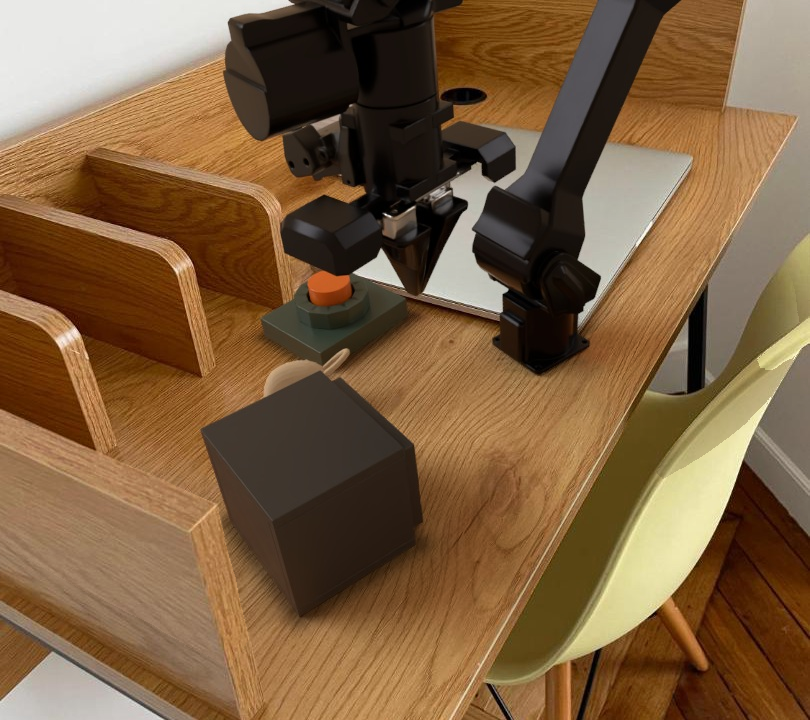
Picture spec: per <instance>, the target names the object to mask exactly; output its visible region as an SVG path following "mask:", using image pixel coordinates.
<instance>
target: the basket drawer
mask: <svg viewBox="0 0 810 720" xmlns="http://www.w3.org/2000/svg"><path fill="white" fill-rule="evenodd" d="M332 381H333V382H334V383H335V384H336V385H337V386H338V387H339V388H340V389H341V390H342V391H343V392H344V393H345V394H346V395H348V396H349V397H350V398H351V399H352V400H353V401H354V402H355V403H356V404H357V405H358V406H359V407H360V408H361V409H363V410H364V411H365V412H366V413H367V414H368V415H369V416H370V417H371V418H372V419H373V420H374V421H375V422H377V423H378V424H379V425H380V426H381V427H382V428H383V429H384V430H385V431H386V432H387V433H388V434H389V435H390V436H392V437H393V438H394V439H395V440H396V441H397V442H398V443H399V444H400V445H401V446H402V447H403V448H404V455H405V463H406V471H407V479H408V486H409V494H410V502H411V510H412V518H413V526H414V529H415V528H417V527H418V526H420V525H422V524H423V523H424V517H423V516H424V515H423V508H422V499H421V490H420V482H419V473H418V466H417V465H418V464H417V457H416V456H417V455H416V447H415V443H413V442H412V440H410V439H409V438H408V437H407V436H406V435H405V434H404V433H403V432H401V430H399V429H398V428H397V426H395V425H394V424H392V423H391V422H390V421H389V419H388V418H386V417H385V416H384V415H383V414H382V413H380V411H378V409H376V407H374V406H373V405H372V404H371V403H370V402H369V401H367V400H366V398H364V397H363V396H362V395H361V394H360V393H359V392H358V391H357V390H355V388H353V387H352V386H351V384H349V383H348V382H347V381H346V380H344V379H343V378H342V377H341V376H339V377H336V378H335V379H333V380H332Z"/></svg>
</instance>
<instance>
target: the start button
mask: <svg viewBox="0 0 810 720" xmlns="http://www.w3.org/2000/svg"><path fill="white" fill-rule="evenodd" d="M307 281H308V289H309V295H310V300H311V302H312V303H313V304H314V305H316V306H326V307H330V306H334V305H338V304H342V303H344V302H345V301H347V300H349V299H350V298H351V296H352V289H351V283H350V277H349V275H345V276H334V275H332V274H330V273H328V272H325V271H323V270H321V271H318V272H316V273H314V274H313V275H311V276H310V277H309V278H308V280H307Z"/></svg>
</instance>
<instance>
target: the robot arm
mask: <svg viewBox="0 0 810 720" xmlns="http://www.w3.org/2000/svg"><path fill="white" fill-rule="evenodd" d="M288 1H289V3H291V4H290V5H287V6H283V7H280V8H276V9H272V10H269V11H264V12H259V13H258V12H255V13H254V12H249V13H243V14H239V15H236V16H233V17H230V18H229V19H228V21H227V27H228V31H229V36H230V41H229V42H228V43H227V44H226V48H225V51H224V52H225V53H224V65H225V69H223V70H222V75H223V76H222V77H223V81H224V85H225V88H226V91H227V94H228V97H229V100H230V103H231V105H232V108H233V110H234V112H235V114H236V116H237V118H238V120H239V122H240V123H241V125H242V126H243V128H244V129H245V130H246V132H247V133H248V134H249V135H250V137H252V138H253V139H254V140H256V141H258V142H265V141H266V140H270V139H273V138H276V137H279V136H282V145H283V154H284V158H285V162H286V164H287V166H288V169H289V171H290V173H291V174H292V175H293V176H294V177H295V178H297V179H299V178H300V179H301V178H305V177H311V176H312V179H313V181H314V182H320V181H322V180H323V179H324V178H328V177H334V176H339V175H341V176H340V177H341V182H342V183H341V184H343V185H345V186H348V187H351V188H357V187H358V186H360V187H363V189H364V193H363V194H362V195H360V196H358V197H357V198H355V199H354V200H352V201H350V202H346V201H344V200H341V199H338V198H335V197H334V196H333V197H332V196H330V195H327V194H321V195H320V196H318V197H317V198H315V199H312V200H311V201H309V202H307V203H305V204H304V205H302V206H300V207H298V208H296V209H295V210H292V211H291V212H289V213H287V214H286V215H285V216H284V218H283V219H282V220H281V222H280V223H279V234H280V239H281V243H282V248H283V252H284V254H285V255H287V256H290V257H292V258H294V259H296V260H299V261H300V262H303V263H305V264H308V265H310V266H312V267H314V268H317V269H319V270H321V271H325V272H328V273H330V274H332V275H334V276H345V275H350V274H351V273H355V272H356V271H359V269H361V268H363V267H364V266H366V265H367V264H369V263H371V262H372V261H374V260H375V259H377V258H378V256H379V254H380V252H381V250H382V252H383V253H384V255H385V256H386V258H387V260H388V261H389V263H390V265H391V266H392V268H393V271H394V272H395V274H396V276H397V278H398V279H399V281H400V283H401V285H402V286H403V288H404V290H405V292H406V293H407V294H409V295H411V296H414V297H418V296H420V295H421V294H422V293H424V292H425V290H426V288H427V287H428V286H427V285H428V284H429V281H430V279H431V277H432V275H433V272H434V270H435V269H436V266H437V264H438V262H439V259H440V257H441V255H442V254H443V251H444V249H445V247H446V245H447V243H448V240H449V239H450V237H451V235H452V233H453V232H454V229H455V227H456V225H457V223H458V222H459V220H460V218H461V216H462V215H463V213H465V212H467V210H468V208H469V202H468V200H467V199H466V198H465V199H464V198H461V197H460V196H459V197H458V196H455V195H454V188H453V187H451V182H453V181H454V180H456V179H458V178H459V177H461V176H463V175H464V174H466V173H467V172H469V171H471V170H472V167H473V166H474V165H475V164H480V169H481V176H482V177H483V178H484V179H485V180H487V181H488V182H491V183H494V184H495V183H497V182H498V181H500V180H502V179H504V178H506V177H507V176H508V175H510V174H511V173H513V172H515V171H516V170H517V146H516V145H515V143H514V142H513V140H512V139H511V138H510V136H509V135H508V134H507V132H506V131H502V130H498V129H495V128H490V127H487V126H484V125H483V126H482V125H479V124H475V123H472V122H468V121H464V120H458V121H456V122H454V123H452V124H450V125H448V126H447V127H445V128H443V129H442V125H443V124H445V123H447V122H449V121H451V120H452V119H454V118H455V110H454V102H452V101H447V100H443V99H440V85H439V74H438V73H439V72H438V58H437V43H436V31H435V29H436V28H435V14H438V13H441V12H445V11H448V10H451V9H454V8H457V7H460V6H461V5H462V4H463V2H464V0H288ZM680 2H682V0H597V1H596V3H595V6H594V7H593V10H592V12H591V14H590V16H589V19H588V22H587V25H586V26H585V29H584V32H583V34H582V37H581V39H580V40H579V43H578V46H577V49H576V50H575V53H574V55H573V57H572V60H571V63H570V65H569V67H568V70H567V72H566V75H565V77H564V79H563V82H562V84H561V87H560V89H559V91H558V94H557V96H556V98H555V100H554V103H553V105H552V108H551V111H550V113H549V115H548V118H547V120H546V122H545V124H544V127H543V129H542V131H541V134H540V136H539V139H538V141H537V144H536V146H535V149H534V151H533V153H532V155H531V159H530V161H529V163H528V165H527V167H526V169H525V171H524V173H523V174H522V175H521V176H520V177H518V178H517V179H516V180H515V181H514V182H513V183H511V184H510V185H509V186H508V187H506V188H505V189H504V188H502V187H500V186H498V185H493V186H492V187H491V188H490V189H489V191H488V192H487V194H486V196H485V197H486V198H485V202H484V204H483V208H482V211H481V213H480V215H479V217H478V219H477V221H476V222H475V223H474V225H473V226H472V227H471V231H472V232H473V233H475V234H474V238H473V242H472V246H471V252H472V253H471V254H473V256H474V258H475V259H474V260H475V263H476V265H477V266H478V267H479V268H480V269H481V270H482V271H484V272H485V273H487V275H488V277H489V279H490V280H491V281H493V282H497V283H498V284H500V285H501V286H502V287H504V288H506V289H507V291H505V292H503V293H502V294H501V296H502V297H501V298H502V302H501V303H502V311H501V312H500V313H499V333H498V334H497V335H496V336H494V337H492V339H491V343H492V345H493V346H494V347H495V348H497V349H498V350H500V351H501V352H503V353H504V354H506V355H507V356H508V357H510V358H511V359H513V360H514V361H516V363H518V364H519V365H521V366H523V367H524V368H526V369H527V370H528V371H530V372H531V373H533V374H534V375H538V376H540V375H543V374H545V373H547V372H548V371H550V370H552V369H554V368H556V367H557V366H559V365H561V364H563V363H565V362H566V361H568V360H570V359H571V358H573V357H575V356H577V355H578V354H580V353H582V352H584V351H586V350H588V349H589V348H590V346H591V341H590V340H589V339H588V338H586V337H585V336H584V335H582V334H580V333H579V332H578V331H579V330H578V329H579V315H580V314H582V313H583V312H584V310H585V306H586V304H588V303H590V302H592V301H593V300H595V299H596V297H597V292H598V290H599V286H600V283H601V280H602V276H601V274H599V273H597V272H596V271H595V270H593V269H592V268H590V267H589V266H588V265H586V264H585V263H583V262H581V261H580V260H579V257H580V254H581V251H582V248H583V245H584V242H585V239H586V224H585V214H584V201H583V198H584V195H585V193H586V189H587V188H588V185H589V182H591V181H590V180H591V178H592V176H593V174H594V171H595V169H596V167H597V164H598V163H599V160H600V158H601V156H602V153H603V151H604V149H605V146H606V144H607V142H608V140H609V138H610V136H611V133H612V131H613V130H614V127H615V124H616V122H617V120H618V117H619V115H620V113H621V112H622V108H623V107H624V104H625V102H626V99H627V97H628V95H629V93H630V91H631V88H632V86H633V84H634V82H635V80H636V77H637V76H638V74H639V71H640V68H641V66H642V64H643V62H644V60H645V58H646V56H647V53H648V51H649V49H650V46H651V44H652V41H653V39H654V37H655V34H656V33H657V30H658V29H659V25H660V24H661V21H662V20H663V18H664V17H665V15H666V14H667V13H668V12H670V11H671V10H672V9H673V8H674V7H675V6H677V5H678V4H679V3H680ZM351 104H352V106H350V105H351ZM349 106H350V107H349ZM339 114H340V116H339V121H336V122H334V123H331V124H329V125H327V126H325V127H323V128H321V129H319V130H316V129H315V128H314V126H313V125H310V124H313V123H316V122H319V121H322V120H325V119H328V118H331V117H334V116H337V115H339Z"/></svg>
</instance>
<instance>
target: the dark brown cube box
mask: <svg viewBox="0 0 810 720" xmlns="http://www.w3.org/2000/svg"><path fill="white" fill-rule="evenodd" d="M199 431H200V433H201V437H202V440H203V443H204V446H205V449H206V452H207V455H208V458H209V461H210V464H211V467H212V470H213V473H214V476H215V480H216V482H217V486H218V488H219V492H220V494H221V497H222V500H223V503H224V506H225V509H226V513H227V515H228V518H229V521H230V523H231V525H232V526H233V528H234V529H235V530H236V532H237V533H238V534H239V536H240V537H241V539H242V540H243V541H244V543H245V544H246V545H247V547H248V548H249V550H250V552H252V554H253V555H254V556H255V558H256V560H257V561H258V562H259V563H260V565H261V566H262V567H263V569H264V571H265V572H266V573H267V574H268V576H269V577H270V578H271V580H272V581H273V583H274V584H275V586H277V588H278V590H279V591H280V593H281V594H282V595H283V596H284V598H285V600H287V602H288V603H289V605H290V606H291V607H292V609H293V610H294V611H295V613H296V614H297V616H298V617H302V616H304V615H305V614H307V613H309V612H310V611H312V610H313V609H315V608H317V607H318V606H320V605H321V604H324V602H327V600H329V599H331V598H332V597H334V596H335V595H337V594H339V593H340V592H342V591H343V590H345V589H347V588H348V587H350V586H352V585H353V584H355V583H357V582H358V581H359V580H361V579H363V578H365V577H366V576H367V575H369V574H370V573H372V572H374V571H376V570H377V569H379V568H381V567H382V566H384V565H385V564H387V563H389V562H390V561H392V560H393V559H395V558H396V557H398V556H399V555H401V554H402V553H404V552H406V551H407V550H409V549H411V548H412V547H414V546H415V545H416V544H417V542H416V534H415V533H416V532H415V528H414V526H413V518H412V510H411V502H410V494H409V486H408V479H407V471H406V463H405V455H404V448H403V447H402V446H401V445H400V444H399V443H398V442H397V441H396V440H395V439H394V438H393V437H392V436H390V435H389V434H388V433H387V432H386V431H385V430H384V429H383V428H382V427H381V426H380V425H379V424H378V423H377V422H375V421H374V420H373V419H372V418H371V417H370V416H369V415H368V414H367V413H366V412H365V411H364V410H363V409H361V408H360V407H359V406H358V405H357V404H356V403H355V402H354V401H353V400H352V399H351V398H350V397H349V396H348V395H346V394H345V393H344V392H343V391H342V390H341V389H340V388H339V387H338V386H337V385H336V384H335V383H334V382H333V380H332V379H331V380H330V379H329V378H328V377H327V376H326V375H325V374H324V373H323V372H322V371H321V370H320V371H317V372H315V373H313V374H311V375H309V376H307V377H305V378H303V379H301V380H299V381H297V382H295V383H293V384H291V385H289V386H287V387H285V388H283V389H281V390H279V391H277V392H275V393H273V394H271V395H268V396H266V397H264V396H263V398H261V399H258V400H257V401H254V402H252V403H250V404H248V405H246V406H244V407H242V408H240V409H237V410H236V411H234V412H232V413H230V414H227V415H226V416H224V417H221V418H220V419H217V420H216V421H213V422H211V423H209V424H207V425H205V426H202V427H201V428H200V429H199Z"/></svg>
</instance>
